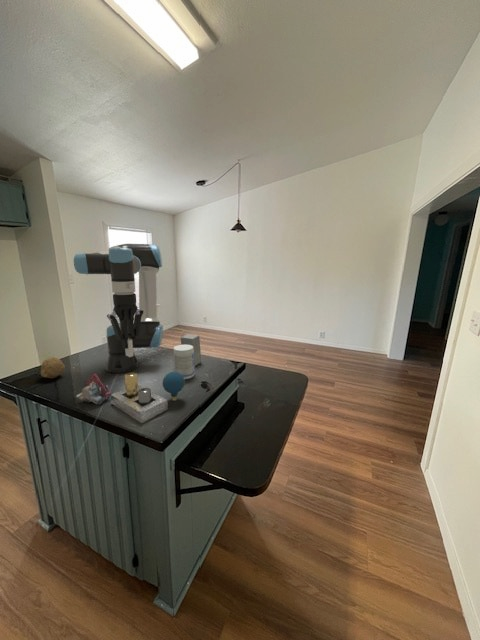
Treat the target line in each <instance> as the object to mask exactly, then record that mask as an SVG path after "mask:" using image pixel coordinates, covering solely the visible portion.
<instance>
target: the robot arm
mask: <svg viewBox="0 0 480 640" xmlns="http://www.w3.org/2000/svg"><path fill="white" fill-rule="evenodd" d="M73 267H74V269H75V272H77V274H80V275H81V274H82V275H86V276H87V275H110V278H111V291H112V293H113V294H112V302H113V303H112V304H113V309H112V310H113V311H112V312H111V313H110V314H106V317H107V319H108V320H109V321H110V324H111V325H108V327H107V328H106V342H107V353H108V356H107V360H106V364H105V371H106V372H108V371H109V372H108V373H110V372H113V373H112V374H122V373H129V372H131V371H133V370H135V369H137V368H138V366H139V361H138V359H137V356H136V354H135V351H134V349H145V348H146V349H148V348H149V349H151V348H158V347H160V346H161V344H162V340H163V335H164V326H163V324H160V323H161V321H160V320H159V319H158V317H157V315H158V313H157V310H158V309H157V302H158V301H157V274H158V273H159V271H160V268H162V267H163V260H162V254H161V251H160V247H159V246H158V245H157V244H150V243H124V244H117V245H113V246H110V247H109V248H108V249H106V250H102V251H97V252H92V253H85V252H83V253H76V254H75V255H74V257H73ZM137 273H138V298H139V299H138V300H139V301H138V305H137V294H136V282H135V280H136V279H135V274H137ZM117 318H118V319H117ZM118 320H119V322H118Z"/></svg>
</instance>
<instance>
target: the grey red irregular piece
mask: <svg viewBox="0 0 480 640" xmlns="http://www.w3.org/2000/svg"><path fill="white" fill-rule="evenodd" d="M111 394H112V392H111V390H110V387H109V385H106V384H105V386H104V384H103V383H102V381H101V379H100V378H99V377H98V375H97V374H96V373H93V374H92V375H91V376H90V378H89V379H88V380H87V382H86V383H85V387H84V388H82V390H81V392H80V393H79V394H77V395H76V396H75V398H76V399H80V400H82V401H83V402H84V401H88V402H87V403H90V402H93V403H92V404H94V403H95V404H94V405H100V404H99V403H101V402H102V403H104V401H106V400H107V399H109V397H110V396H111ZM106 398H107V399H106ZM105 399H106V400H105ZM102 403H101V404H102Z"/></svg>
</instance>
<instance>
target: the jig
mask: <svg viewBox="0 0 480 640" xmlns="http://www.w3.org/2000/svg"><path fill="white" fill-rule="evenodd" d="M110 398H111V399H110V400H111V404H112V405H113V406H115V407H116V408H117V409H119V410H120V411H122V412H124V413H125V414H127V415H128V416H130V417H131V418H133V419H135V420H136V421H138V422H139V423H141V424H143V423H145V422H147V421H149V420H151V419H153V418H155V417H157V416H158V415H161V414H162V413H163V412H165V411H167V410H169V409H168V405H169V404H168V399H166V398H164V397H162V396H160V395H159V394H157V393H155V392H152V390H151V388H149V387H143V386H140V385H139V384H138V396H136V397H134V398H132V399H128V398H127V397H126V388H124V389H121V390H119V391H117V392H113V393H111V394H110Z"/></svg>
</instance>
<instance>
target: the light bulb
mask: <svg viewBox="0 0 480 640" xmlns="http://www.w3.org/2000/svg"><path fill="white" fill-rule="evenodd" d="M185 383H186V382H185V379H184V377H183V376H182V375H181V374H180V373H178V372H174V371H171V372H168V373H167V374H166V375H165V376H164V377H163V379H162V387H163V389H164V391H166V392H167V393H169V394H170V396H171V400H172V401H177V400H178V397H177V396H178V393H179V392H181V391H182V390H183V388H184V387H185Z"/></svg>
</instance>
